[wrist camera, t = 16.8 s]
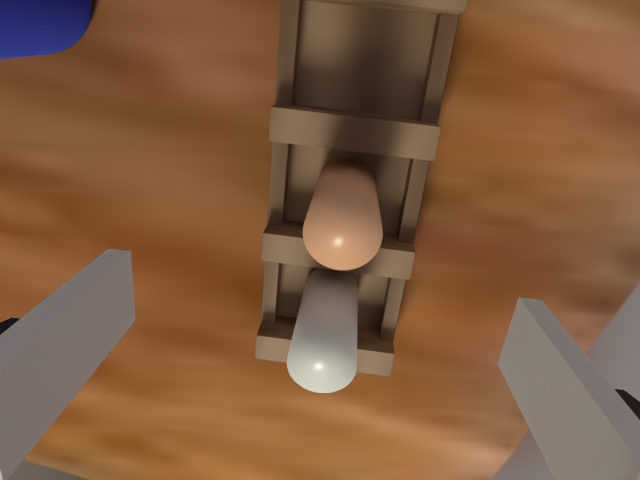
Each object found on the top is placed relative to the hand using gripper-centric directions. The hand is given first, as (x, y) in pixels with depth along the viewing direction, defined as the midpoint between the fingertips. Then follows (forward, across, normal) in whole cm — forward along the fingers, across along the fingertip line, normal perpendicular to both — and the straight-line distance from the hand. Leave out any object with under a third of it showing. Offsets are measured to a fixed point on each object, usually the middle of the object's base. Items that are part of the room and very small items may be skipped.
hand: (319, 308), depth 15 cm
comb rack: (+18, +1, 0) cm, 18 cm away
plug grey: (+16, +1, -8) cm, 18 cm away
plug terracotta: (+16, +1, 0) cm, 17 cm away
